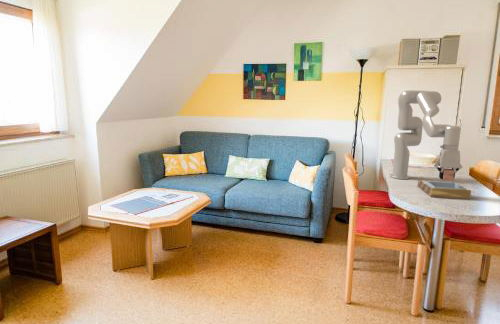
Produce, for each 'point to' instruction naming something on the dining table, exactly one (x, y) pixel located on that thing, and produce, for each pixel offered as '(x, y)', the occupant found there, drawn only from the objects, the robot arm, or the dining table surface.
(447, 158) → the robot arm
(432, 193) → the bay
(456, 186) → the grey tray
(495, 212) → the dining table surface
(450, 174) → the block
